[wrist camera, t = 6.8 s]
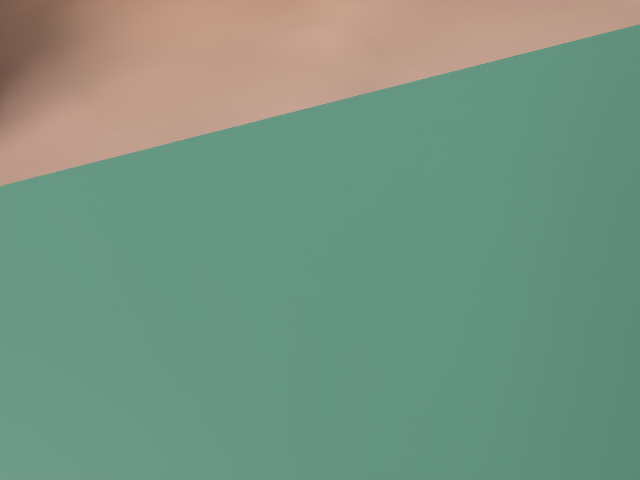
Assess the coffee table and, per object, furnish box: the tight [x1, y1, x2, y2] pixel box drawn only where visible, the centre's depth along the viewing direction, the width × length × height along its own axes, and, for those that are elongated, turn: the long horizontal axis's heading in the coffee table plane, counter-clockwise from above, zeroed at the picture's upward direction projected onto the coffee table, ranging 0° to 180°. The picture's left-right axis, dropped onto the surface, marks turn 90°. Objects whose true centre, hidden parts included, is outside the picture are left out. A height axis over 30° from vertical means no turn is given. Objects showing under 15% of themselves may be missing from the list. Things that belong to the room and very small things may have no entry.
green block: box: [0, 25, 640, 480], centre depth 8 cm, size 5×5×12 cm
